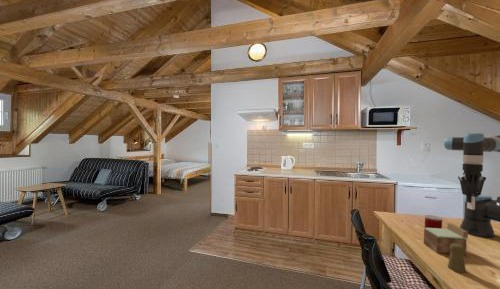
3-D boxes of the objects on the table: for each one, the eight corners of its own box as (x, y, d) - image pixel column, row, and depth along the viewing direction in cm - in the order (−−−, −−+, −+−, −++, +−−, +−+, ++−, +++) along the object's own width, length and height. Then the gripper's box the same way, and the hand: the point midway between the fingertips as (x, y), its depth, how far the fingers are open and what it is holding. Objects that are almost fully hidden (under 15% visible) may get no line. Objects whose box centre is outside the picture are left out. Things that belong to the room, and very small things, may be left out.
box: (449, 245, 126) (450, 231, 126) (465, 255, 115) (466, 239, 115) (423, 243, 127) (424, 229, 127) (437, 253, 117) (437, 238, 116)
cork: (446, 269, 102) (447, 244, 102) (448, 264, 107) (449, 240, 106) (465, 275, 98) (466, 249, 98) (466, 269, 102) (467, 244, 102)
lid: (451, 230, 125) (451, 223, 125) (467, 239, 115) (467, 231, 114) (425, 229, 127) (425, 222, 127) (438, 237, 116) (439, 230, 116)
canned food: (444, 238, 134) (445, 219, 133) (428, 237, 135) (429, 218, 135) (436, 233, 141) (437, 215, 141) (421, 232, 143) (422, 214, 143)
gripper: (477, 162, 123) (475, 206, 124) (453, 162, 123) (452, 206, 124) (492, 164, 116) (490, 211, 117) (467, 164, 116) (465, 210, 116)
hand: (470, 208), depth 120 cm, fingers closed
